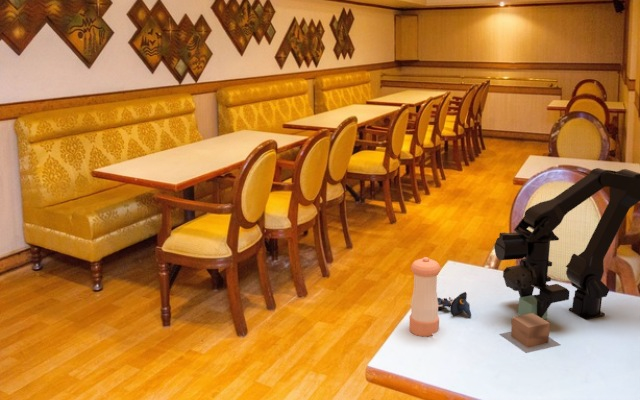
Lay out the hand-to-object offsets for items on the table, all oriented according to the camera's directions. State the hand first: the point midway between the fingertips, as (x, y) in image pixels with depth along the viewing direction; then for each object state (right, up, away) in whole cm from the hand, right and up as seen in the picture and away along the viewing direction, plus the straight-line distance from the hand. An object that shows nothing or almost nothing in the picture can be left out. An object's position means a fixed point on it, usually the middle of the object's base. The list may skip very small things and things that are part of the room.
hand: (532, 313), depth 157 cm
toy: (-21, -1, +5) cm, 22 cm away
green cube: (0, -1, 0) cm, 1 cm away
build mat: (-5, -4, -12) cm, 14 cm away
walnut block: (-5, -4, -12) cm, 13 cm away
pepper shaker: (-29, -3, -5) cm, 29 cm away
